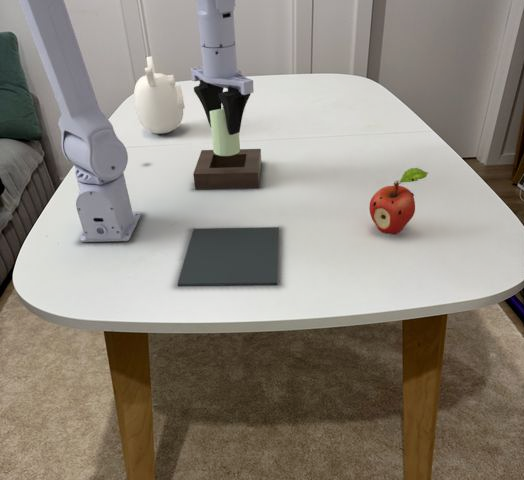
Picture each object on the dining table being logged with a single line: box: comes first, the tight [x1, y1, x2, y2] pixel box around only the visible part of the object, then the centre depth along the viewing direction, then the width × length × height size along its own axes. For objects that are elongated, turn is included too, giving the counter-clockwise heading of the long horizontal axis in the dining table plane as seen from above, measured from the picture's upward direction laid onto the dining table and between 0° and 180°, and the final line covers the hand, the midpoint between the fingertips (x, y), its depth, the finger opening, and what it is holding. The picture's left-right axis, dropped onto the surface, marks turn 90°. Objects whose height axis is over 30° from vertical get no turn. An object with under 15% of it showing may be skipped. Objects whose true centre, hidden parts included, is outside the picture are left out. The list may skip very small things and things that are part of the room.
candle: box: [210, 106, 241, 156], centre depth 92 cm, size 5×5×8 cm
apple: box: [368, 167, 429, 236], centre depth 78 cm, size 8×7×10 cm
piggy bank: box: [133, 55, 185, 135], centre depth 116 cm, size 12×12×15 cm
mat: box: [177, 226, 280, 287], centre depth 77 cm, size 16×14×1 cm
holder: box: [192, 148, 262, 190], centre depth 99 cm, size 12×12×3 cm
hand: (225, 130), depth 93 cm, fingers closed on candle, 5 cm apart
